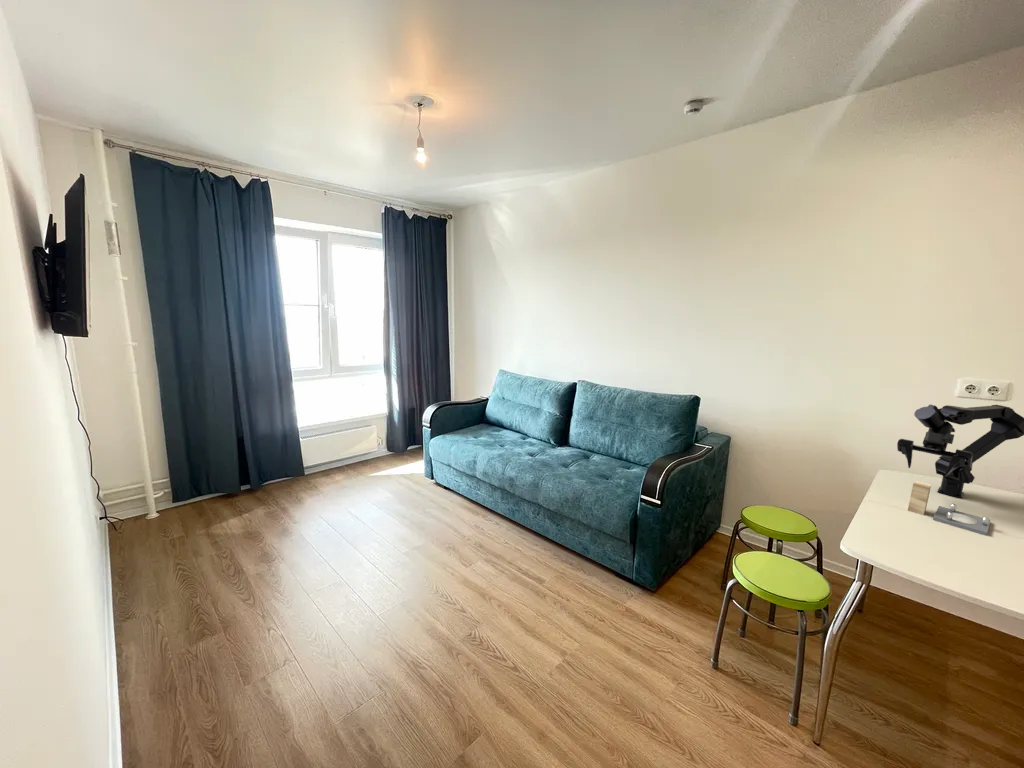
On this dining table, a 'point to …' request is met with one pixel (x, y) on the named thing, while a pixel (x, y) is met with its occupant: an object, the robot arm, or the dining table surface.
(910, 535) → the dining table surface
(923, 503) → the maple block
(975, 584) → the dining table surface
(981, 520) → the plate
